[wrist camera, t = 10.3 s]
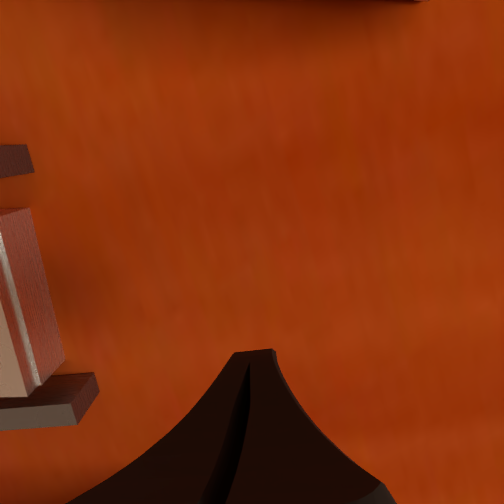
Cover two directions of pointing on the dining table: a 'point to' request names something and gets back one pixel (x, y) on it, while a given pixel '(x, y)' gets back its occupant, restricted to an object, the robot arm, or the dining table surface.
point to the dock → (55, 387)
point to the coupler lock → (24, 309)
